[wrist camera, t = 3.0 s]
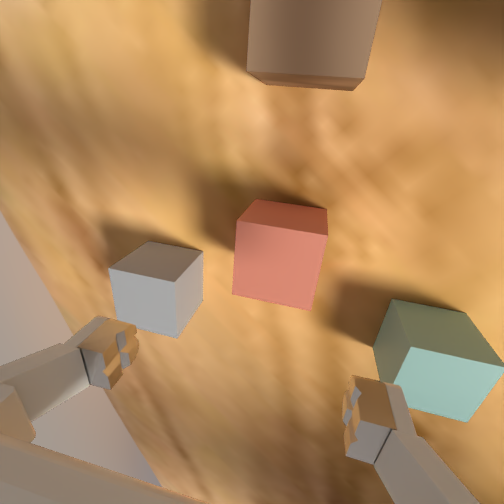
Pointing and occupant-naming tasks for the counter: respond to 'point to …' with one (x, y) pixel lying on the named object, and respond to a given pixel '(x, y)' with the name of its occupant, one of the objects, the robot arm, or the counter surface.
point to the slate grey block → (158, 287)
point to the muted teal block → (436, 359)
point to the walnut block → (311, 42)
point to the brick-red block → (279, 253)
